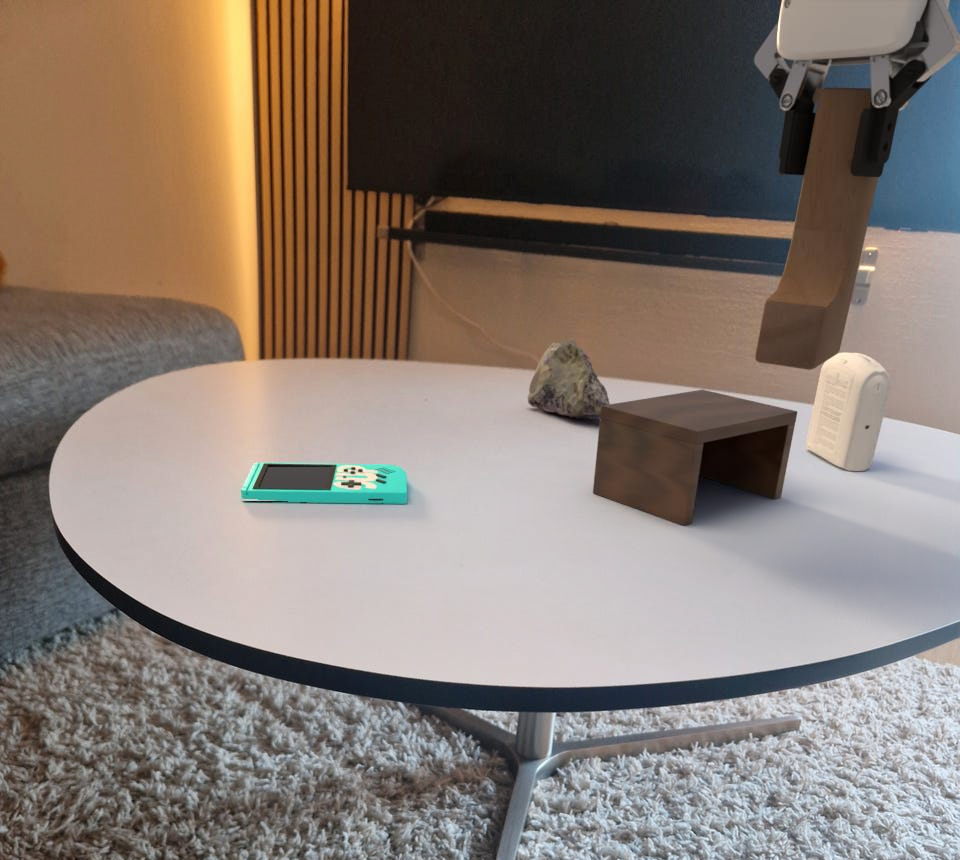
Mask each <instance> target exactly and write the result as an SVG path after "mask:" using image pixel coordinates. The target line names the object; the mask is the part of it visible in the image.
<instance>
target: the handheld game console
mask: <svg viewBox="0 0 960 860" xmlns="http://www.w3.org/2000/svg"><path fill="white" fill-rule="evenodd" d="M240 492H241V499H242V498H243V499H258V500H274V501H275V500H276V501H288V502H287V503H300V502H307V503H309V504H310V503H311V504H313V503H315V504H316V503H317V504H382V503H383V504H385V505H386V504H387V505H388V504H389V505H390V504H391V505H393V504H394V505H395V504H396V505H405V504H407V503H408V476H407V472H406V471H405V470H404V469H403V468H402V467H400V466H398V465H393V464H385V463H327V462H326V463H322V462H321V463H320V462H318V463H317V462H266V461H265V462H254V463H253V465H252V467H251V468H250V471H249V473H248V475H247V477H246V479H245V480H244V483H243V485H242V487H241V489H240Z"/></svg>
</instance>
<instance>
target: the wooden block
mask: <svg viewBox="0 0 960 860" xmlns="http://www.w3.org/2000/svg"><path fill="white" fill-rule="evenodd" d="M871 101H872V98H871V87H870V88H869V87H867V88H866V87H825V88H821V91H820V93H819V96H818V99H817V105H816V110H815V113H816V114H815V120H814V125H813V130H812V135H811V141H810V146H809V151H808V156H807V162H806V167H805V172H804V175H803V178H802V183H801V187H800V194H799V199H798V203H797V209H796V214H795V219H794V225H793V230H792V237H791V241H790V245H789V249H788V254H787V257H786V262H785V265H784V269H783V272H782V275H781V277H780V280H779V282H778V285H777V287H776V289H775V291H774V292H773V293H772V294H771V295H770V296H769V297H767V299H766V300H765V302H764V305H763V310H762V316H761V320H760V326H759V332H758V337H757V343H756V348H755V354H754V358H755V361H756V362H757V363H760V364H766V365H774V366H780V367H786V368H794V369H800V370H808V371H810V370H815V369H816V368H818V367H819V366H821V365H823V364H824V363H825V361H827V360H828V359H830V358H832V357H833V356H835V355H836V354H838V353H840V351H841V346H842V341H843V337H844V333H845V328H846V324H847V319H848V316H849V311H850V308H851V307H850V306H851V301H852V298H853V293H854V290H855V289H854V288H855V283H856V280H857V275H858V271H859V267H860V262H861V257H862V254H863V253H862V252H863V248H864V244H865V239H866V234H867V230H868V226H869V221H870V217H871V213H872V207H873V203H874V199H875V194H876V190H877V186H878V181H879V177H862V176H853V175H852V174H851V172H850V169H851V164H852V158H853V153H854V148H855V143H856V137H857V132H858V127H859V121H860V116H861V113H862V112H863V109H864V108H870V106H871Z"/></svg>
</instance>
